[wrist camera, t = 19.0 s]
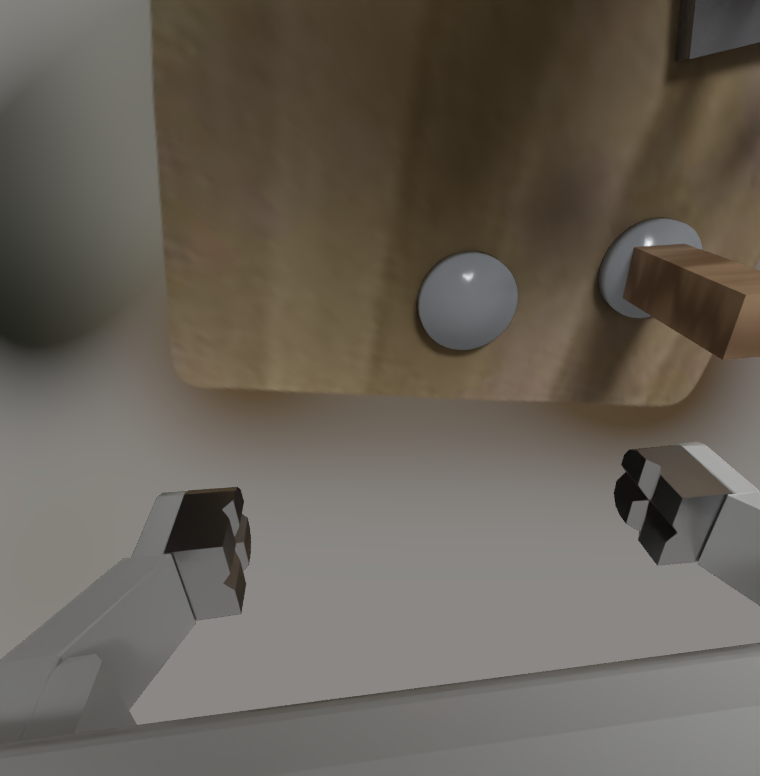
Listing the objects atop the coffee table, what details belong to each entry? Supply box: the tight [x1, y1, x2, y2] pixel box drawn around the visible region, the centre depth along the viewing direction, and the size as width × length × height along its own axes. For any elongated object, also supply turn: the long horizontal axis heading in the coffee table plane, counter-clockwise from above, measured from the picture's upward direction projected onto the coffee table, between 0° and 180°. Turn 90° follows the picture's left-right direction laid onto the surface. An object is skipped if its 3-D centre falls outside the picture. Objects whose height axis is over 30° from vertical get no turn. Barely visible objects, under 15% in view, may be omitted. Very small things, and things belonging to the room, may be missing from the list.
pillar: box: [623, 244, 760, 360], centre depth 36 cm, size 4×4×12 cm
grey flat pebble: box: [598, 217, 702, 318], centre depth 41 cm, size 8×8×1 cm
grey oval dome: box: [417, 251, 518, 350], centre depth 41 cm, size 8×8×1 cm
